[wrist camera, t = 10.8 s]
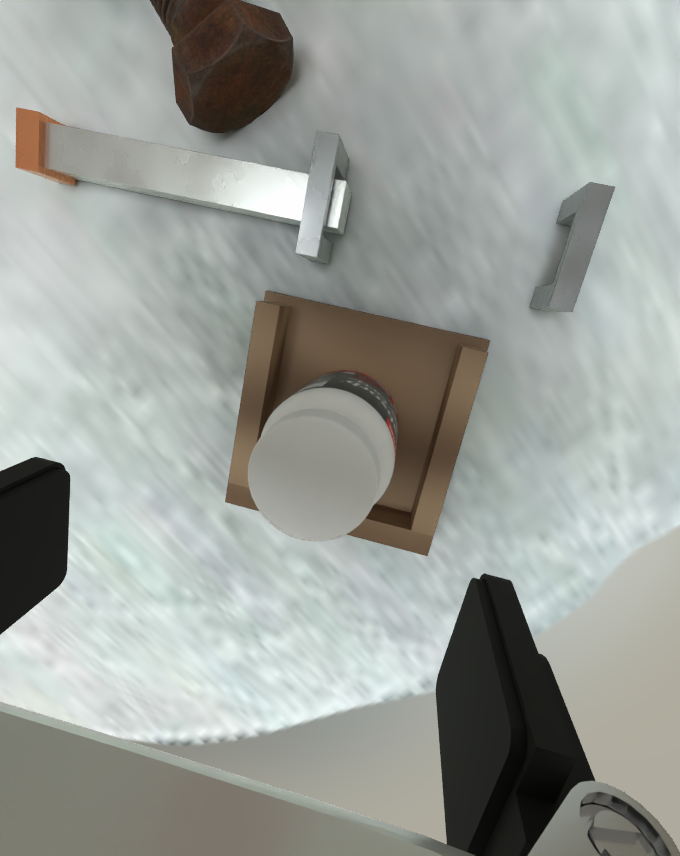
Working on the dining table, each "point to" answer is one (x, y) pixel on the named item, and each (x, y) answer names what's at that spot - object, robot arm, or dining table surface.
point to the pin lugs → (576, 211)
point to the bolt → (226, 60)
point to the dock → (391, 366)
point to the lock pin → (168, 172)
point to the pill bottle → (325, 456)
